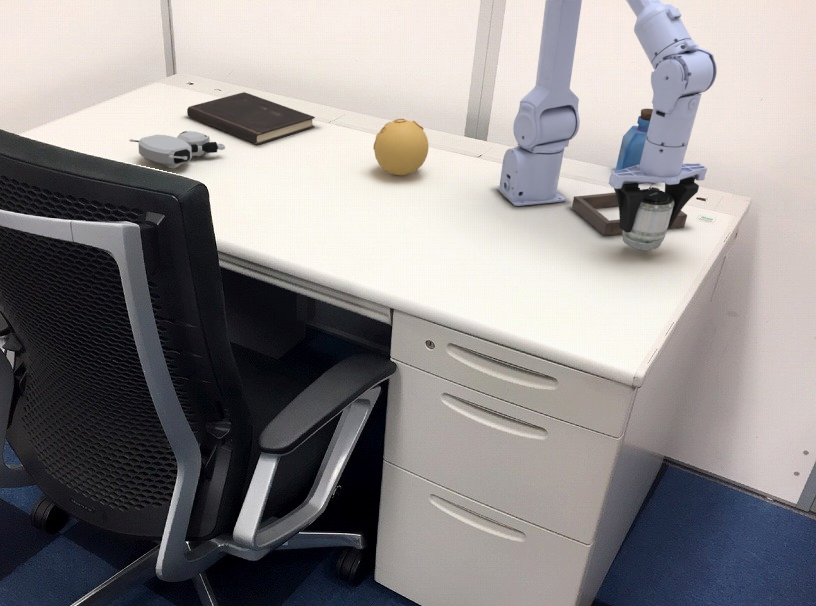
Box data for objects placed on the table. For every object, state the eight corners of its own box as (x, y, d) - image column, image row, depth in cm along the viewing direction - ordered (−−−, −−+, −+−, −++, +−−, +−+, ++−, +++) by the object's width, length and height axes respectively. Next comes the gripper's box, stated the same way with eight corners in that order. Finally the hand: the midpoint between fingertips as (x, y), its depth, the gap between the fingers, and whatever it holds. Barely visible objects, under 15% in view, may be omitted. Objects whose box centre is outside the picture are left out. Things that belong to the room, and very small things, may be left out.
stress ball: (437, 176, 157) (442, 122, 151) (394, 188, 153) (398, 133, 147) (403, 159, 164) (407, 107, 158) (362, 170, 159) (364, 117, 154)
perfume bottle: (654, 184, 154) (671, 118, 147) (618, 181, 155) (633, 115, 148) (650, 171, 159) (666, 107, 152) (615, 168, 160) (630, 104, 153)
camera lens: (611, 240, 132) (622, 192, 127) (636, 229, 135) (648, 182, 130) (646, 255, 127) (659, 205, 123) (671, 243, 131) (684, 195, 126)
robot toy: (188, 146, 172) (127, 160, 162) (188, 123, 169) (126, 136, 160) (229, 161, 165) (168, 177, 155) (229, 138, 162) (167, 153, 153)
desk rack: (603, 236, 137) (606, 223, 136) (571, 208, 146) (573, 196, 144) (684, 227, 140) (687, 214, 138) (647, 200, 148) (650, 188, 147)
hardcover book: (244, 102, 192) (244, 91, 191) (314, 127, 178) (314, 116, 177) (187, 117, 183) (186, 107, 182) (256, 145, 170) (256, 134, 168)
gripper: (636, 154, 117) (615, 243, 125) (729, 145, 120) (702, 234, 128) (610, 136, 123) (591, 223, 131) (699, 129, 125) (675, 214, 133)
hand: (644, 227), depth 130 cm, fingers closed on camera lens, 6 cm apart
